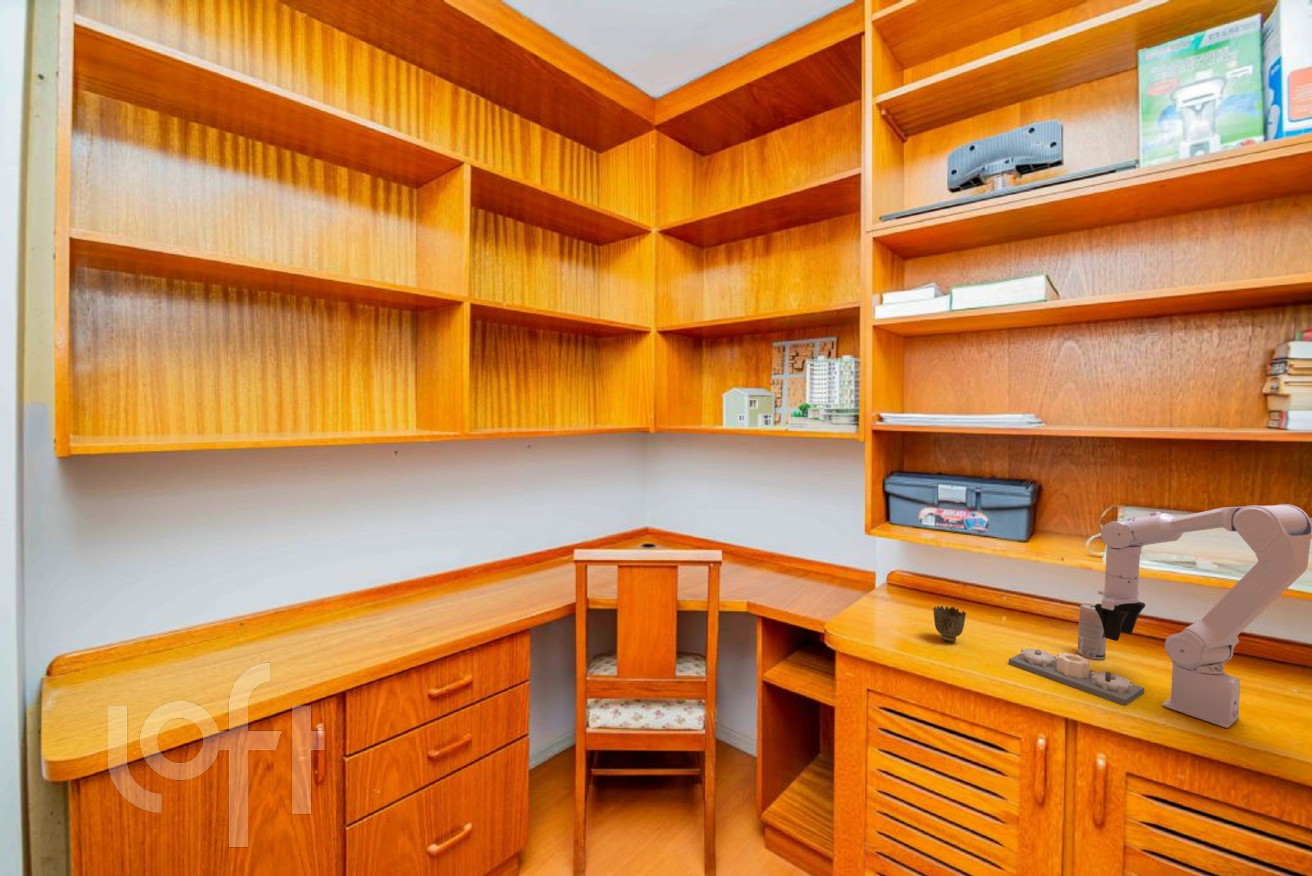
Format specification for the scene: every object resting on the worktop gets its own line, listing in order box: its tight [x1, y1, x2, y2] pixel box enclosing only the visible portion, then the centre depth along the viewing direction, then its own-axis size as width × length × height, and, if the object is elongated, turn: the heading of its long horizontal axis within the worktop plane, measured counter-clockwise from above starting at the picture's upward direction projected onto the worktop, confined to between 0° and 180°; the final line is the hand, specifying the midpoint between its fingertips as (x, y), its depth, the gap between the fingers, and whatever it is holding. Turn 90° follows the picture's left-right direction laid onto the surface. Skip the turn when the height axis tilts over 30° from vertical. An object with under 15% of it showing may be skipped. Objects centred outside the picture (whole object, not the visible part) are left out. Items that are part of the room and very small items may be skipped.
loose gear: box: [1056, 652, 1091, 679], centre depth 125 cm, size 6×6×3 cm
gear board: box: [1007, 647, 1145, 706], centre depth 125 cm, size 22×10×4 cm, turn 32°
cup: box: [932, 605, 967, 644], centre depth 144 cm, size 8×7×8 cm
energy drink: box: [1077, 603, 1107, 661], centre depth 137 cm, size 5×5×12 cm
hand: (1118, 635), depth 125 cm, fingers open, 7 cm apart
